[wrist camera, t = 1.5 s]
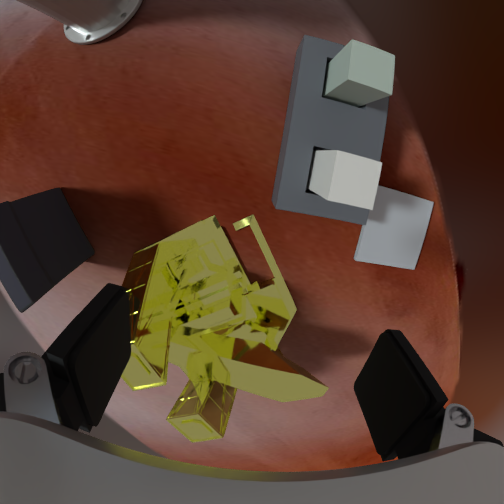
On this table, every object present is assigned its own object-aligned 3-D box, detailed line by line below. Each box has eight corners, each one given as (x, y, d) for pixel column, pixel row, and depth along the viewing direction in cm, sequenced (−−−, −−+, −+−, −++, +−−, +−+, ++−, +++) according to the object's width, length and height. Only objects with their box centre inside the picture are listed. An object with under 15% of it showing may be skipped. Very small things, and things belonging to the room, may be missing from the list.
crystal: (208, 380, 42) (197, 459, 27) (120, 252, 34) (55, 312, 19) (315, 344, 40) (341, 426, 25) (245, 188, 32) (242, 219, 17)
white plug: (309, 150, 29) (337, 150, 19) (342, 158, 29) (382, 162, 19) (303, 185, 30) (327, 200, 20) (336, 192, 30) (372, 210, 21)
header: (296, 50, 26) (304, 34, 21) (373, 72, 26) (391, 63, 22) (271, 200, 32) (275, 208, 27) (350, 215, 33) (365, 225, 28)
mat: (371, 183, 31) (374, 184, 30) (430, 201, 32) (433, 202, 31) (353, 258, 35) (355, 260, 34) (411, 267, 35) (414, 269, 34)
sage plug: (322, 70, 25) (352, 39, 16) (354, 79, 25) (394, 55, 16) (317, 100, 27) (347, 79, 17) (350, 109, 27) (392, 95, 17)
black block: (45, 200, 31) (-28, 229, 17) (62, 184, 30) (-16, 208, 16) (80, 263, 34) (18, 316, 20) (98, 250, 34) (33, 304, 20)
